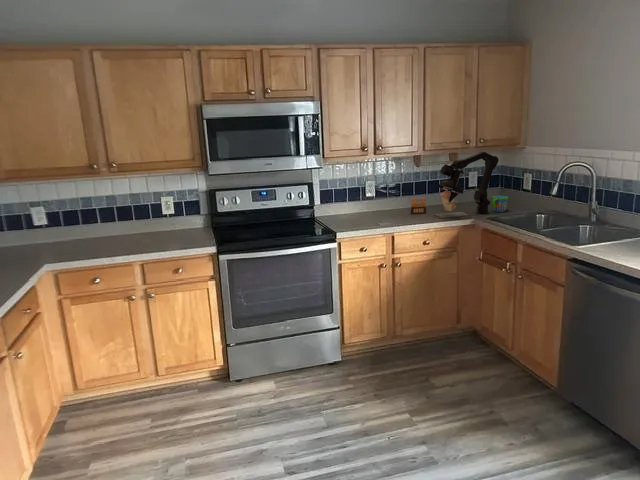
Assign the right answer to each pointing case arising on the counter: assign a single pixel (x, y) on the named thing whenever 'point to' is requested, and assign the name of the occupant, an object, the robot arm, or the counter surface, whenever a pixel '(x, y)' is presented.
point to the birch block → (447, 201)
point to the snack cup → (499, 203)
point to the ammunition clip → (418, 206)
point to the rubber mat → (451, 215)
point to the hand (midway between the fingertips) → (446, 201)
